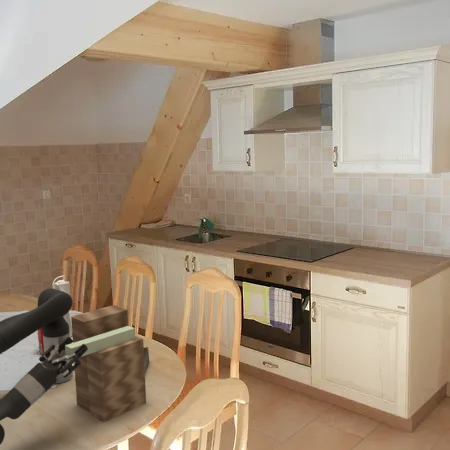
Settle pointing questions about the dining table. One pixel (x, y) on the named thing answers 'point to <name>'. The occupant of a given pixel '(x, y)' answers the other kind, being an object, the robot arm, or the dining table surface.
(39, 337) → the soda can
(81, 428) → the dining table surface
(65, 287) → the white water bottle
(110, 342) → the sage bar
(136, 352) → the display stand
